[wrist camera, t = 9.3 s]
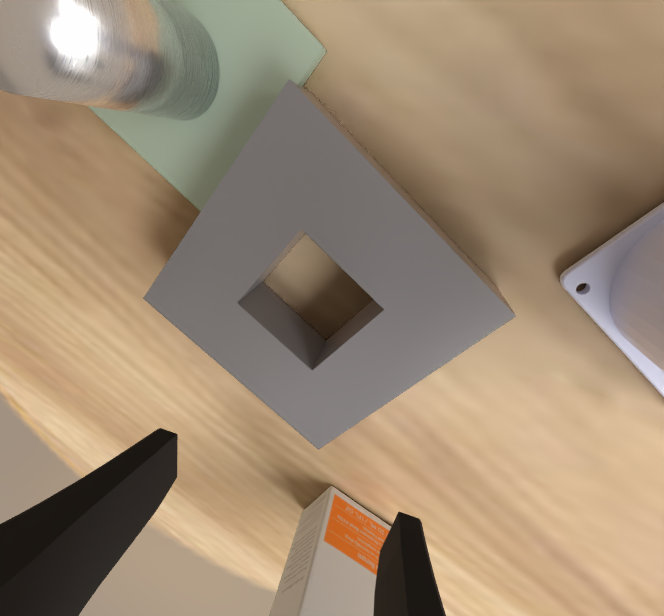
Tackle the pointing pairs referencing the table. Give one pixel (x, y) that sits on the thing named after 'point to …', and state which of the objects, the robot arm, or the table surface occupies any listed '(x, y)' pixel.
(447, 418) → the table surface
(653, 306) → the robot arm
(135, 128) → the mat
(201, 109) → the plug
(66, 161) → the table surface
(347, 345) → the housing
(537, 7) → the table surface
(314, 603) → the skincare box
